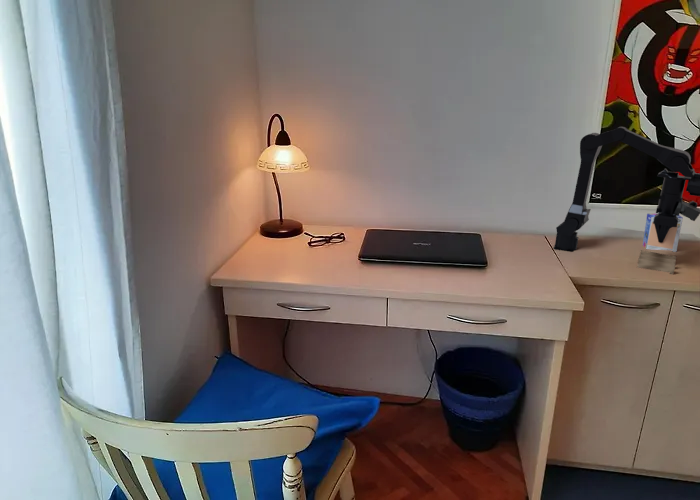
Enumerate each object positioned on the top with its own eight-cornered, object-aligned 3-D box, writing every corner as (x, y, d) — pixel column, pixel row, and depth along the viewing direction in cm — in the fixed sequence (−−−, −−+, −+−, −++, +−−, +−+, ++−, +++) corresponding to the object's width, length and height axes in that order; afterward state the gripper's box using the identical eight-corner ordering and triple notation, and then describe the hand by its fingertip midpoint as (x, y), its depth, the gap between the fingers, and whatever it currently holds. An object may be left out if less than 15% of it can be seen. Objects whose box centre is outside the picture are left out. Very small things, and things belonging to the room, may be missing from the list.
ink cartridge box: (671, 247, 187) (679, 207, 182) (677, 252, 182) (685, 211, 177) (640, 246, 189) (647, 206, 184) (645, 251, 184) (652, 210, 179)
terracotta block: (647, 244, 170) (651, 223, 167) (647, 242, 172) (652, 221, 169) (672, 249, 166) (677, 227, 164) (672, 246, 168) (677, 225, 166)
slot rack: (636, 267, 168) (638, 258, 167) (639, 258, 176) (641, 250, 175) (673, 274, 163) (675, 265, 162) (674, 265, 171) (676, 256, 170)
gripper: (703, 202, 152) (690, 254, 157) (702, 190, 167) (690, 238, 172) (658, 197, 157) (647, 247, 163) (661, 186, 173) (651, 232, 178)
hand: (660, 241), depth 169 cm, fingers closed on terracotta block, 2 cm apart
